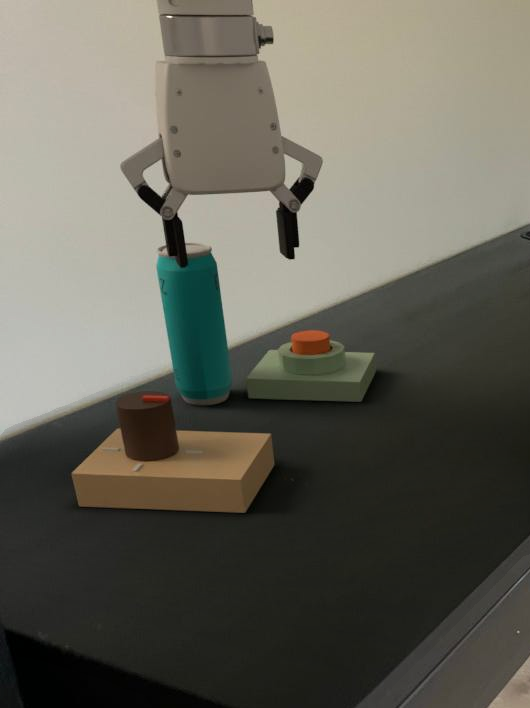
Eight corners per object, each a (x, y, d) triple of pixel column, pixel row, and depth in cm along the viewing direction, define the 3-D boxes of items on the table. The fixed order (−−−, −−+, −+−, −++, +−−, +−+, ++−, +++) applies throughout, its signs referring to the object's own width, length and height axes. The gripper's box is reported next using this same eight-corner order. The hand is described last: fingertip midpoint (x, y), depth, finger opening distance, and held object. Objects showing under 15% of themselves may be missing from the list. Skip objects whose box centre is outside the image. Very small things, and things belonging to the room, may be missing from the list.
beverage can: (231, 387, 107) (211, 240, 99) (237, 404, 102) (217, 252, 94) (176, 392, 105) (151, 243, 97) (180, 410, 101) (155, 256, 93)
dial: (117, 460, 82) (106, 404, 80) (136, 440, 86) (126, 386, 83) (169, 462, 82) (159, 406, 79) (186, 442, 86) (177, 388, 83)
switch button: (289, 357, 104) (287, 340, 103) (297, 345, 108) (295, 329, 107) (326, 358, 104) (325, 341, 103) (333, 346, 107) (332, 330, 106)
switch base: (248, 398, 104) (243, 361, 102) (271, 368, 112) (267, 333, 110) (361, 402, 103) (358, 364, 101) (376, 372, 112) (374, 336, 109)
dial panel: (78, 506, 82) (70, 471, 80) (123, 459, 90) (116, 426, 88) (245, 513, 81) (240, 477, 79) (274, 464, 89) (271, 431, 88)
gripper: (302, 40, 87) (317, 245, 96) (95, 40, 81) (132, 259, 90) (324, 43, 81) (338, 262, 90) (103, 44, 75) (143, 277, 85)
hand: (235, 260), depth 90 cm, fingers open, 9 cm apart
